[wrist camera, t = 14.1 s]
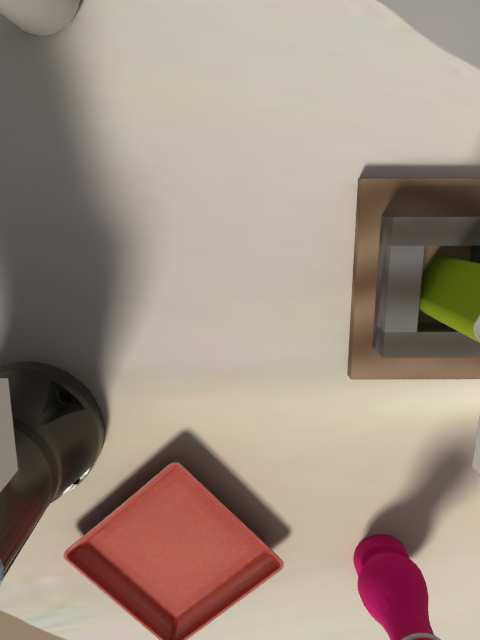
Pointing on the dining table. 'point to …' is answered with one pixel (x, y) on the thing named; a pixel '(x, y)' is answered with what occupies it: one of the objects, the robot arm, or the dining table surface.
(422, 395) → the dining table surface
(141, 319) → the dining table surface
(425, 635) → the pepper mill
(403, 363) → the charging dock
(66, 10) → the can
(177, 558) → the plant saucer
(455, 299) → the vape
